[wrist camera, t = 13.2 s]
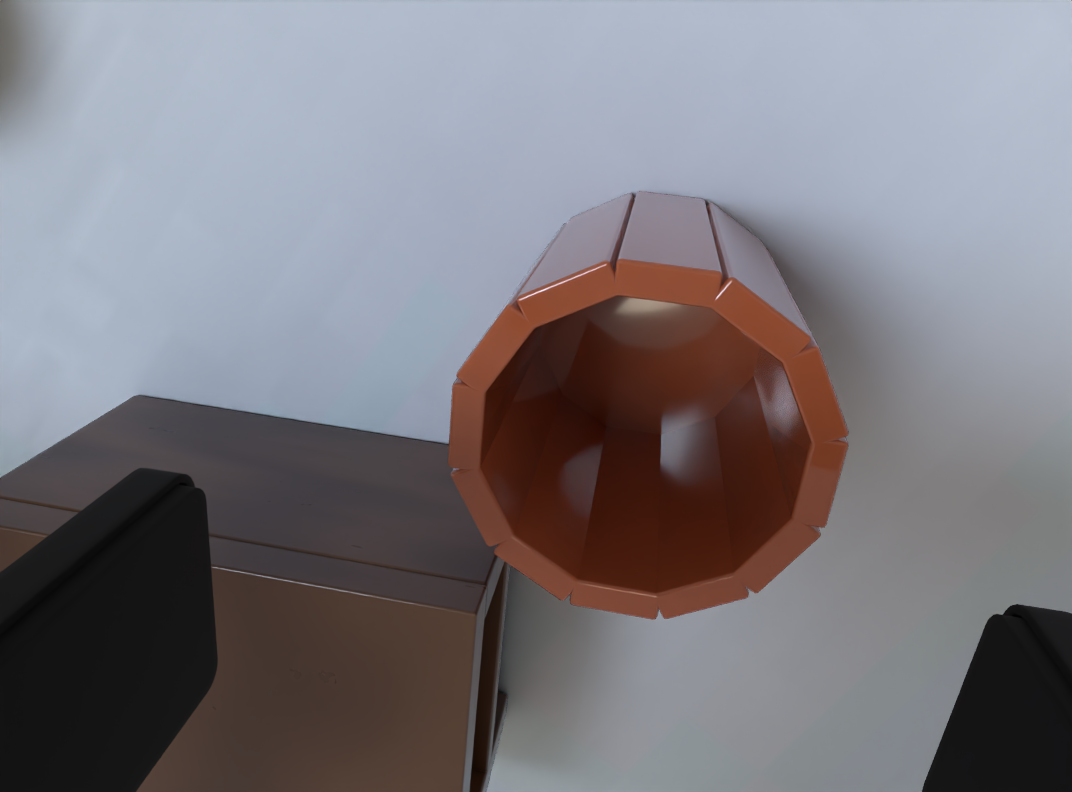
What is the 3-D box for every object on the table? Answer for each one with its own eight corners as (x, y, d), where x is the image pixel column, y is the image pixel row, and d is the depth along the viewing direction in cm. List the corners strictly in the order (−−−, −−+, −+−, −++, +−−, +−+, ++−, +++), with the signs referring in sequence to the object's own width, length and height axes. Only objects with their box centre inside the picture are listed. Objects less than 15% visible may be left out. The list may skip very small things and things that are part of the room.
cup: (512, 422, 22) (440, 583, 15) (535, 178, 19) (460, 238, 12) (754, 460, 21) (793, 646, 14) (811, 211, 19) (892, 294, 12)
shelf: (163, 649, 27) (9, 826, 21) (135, 393, 24) (-65, 515, 17) (506, 716, 26) (451, 927, 20) (533, 457, 22) (477, 613, 16)
